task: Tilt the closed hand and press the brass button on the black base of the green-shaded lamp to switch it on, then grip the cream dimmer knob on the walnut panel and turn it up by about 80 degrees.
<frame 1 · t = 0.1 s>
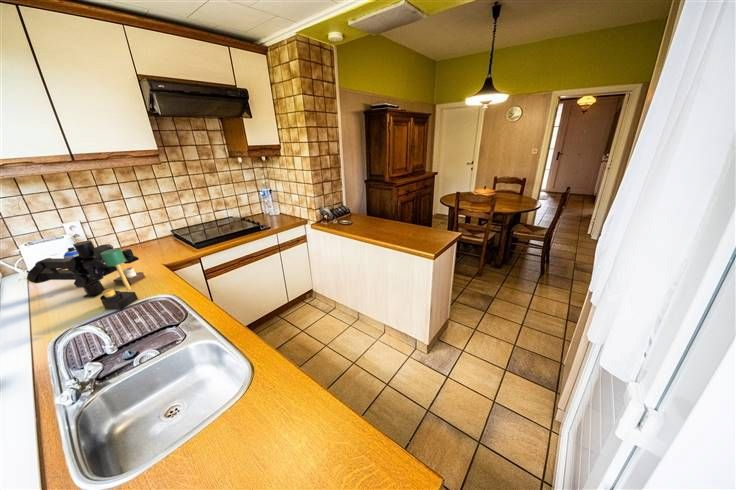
hand: (129, 263, 119), 16 cm above the worktop, tool horizontal, fingers open, 9 cm apart
dimmer panel: (130, 280, 138), on the worktop
lamp base: (122, 304, 118), on the worktop
lamp: (134, 300, 121), resting on lamp base
dimmer: (129, 272, 136), point 5 cm above the worktop, hinge at 0.0°
lamp button: (109, 293, 114), point 7 cm above the worktop, slide at 0.1 cm
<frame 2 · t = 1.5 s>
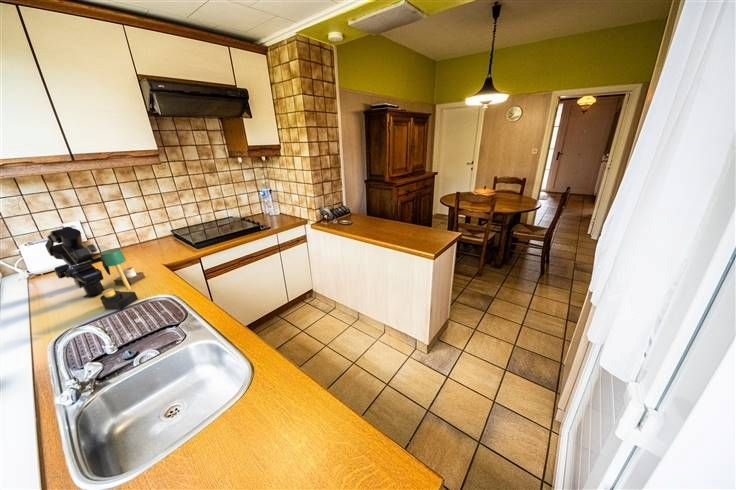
hand: (98, 278, 115), 13 cm above the worktop, tool tilted 45°, fingers open, 8 cm apart
nothing on the worktop moved.
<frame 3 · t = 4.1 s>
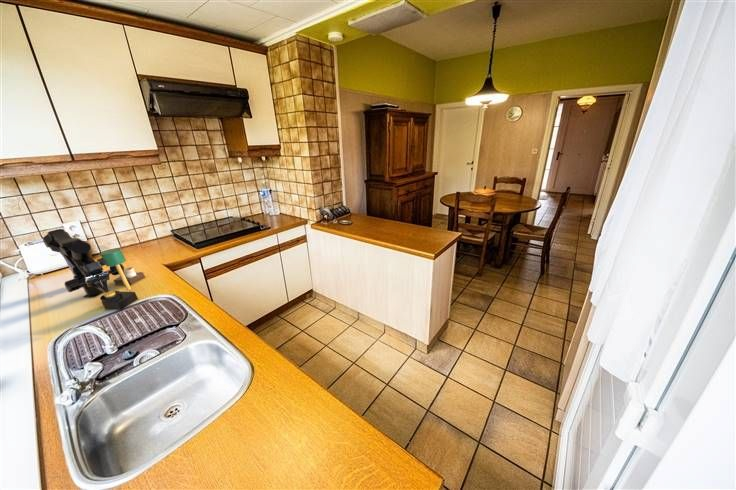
hand: (107, 292, 115), 7 cm above the worktop, tool tilted 45°, fingers closed, pressing on lamp button
lamp button: (110, 295, 115), point 6 cm above the worktop, slide at -1.2 cm, touching gripper
everything else where it was.
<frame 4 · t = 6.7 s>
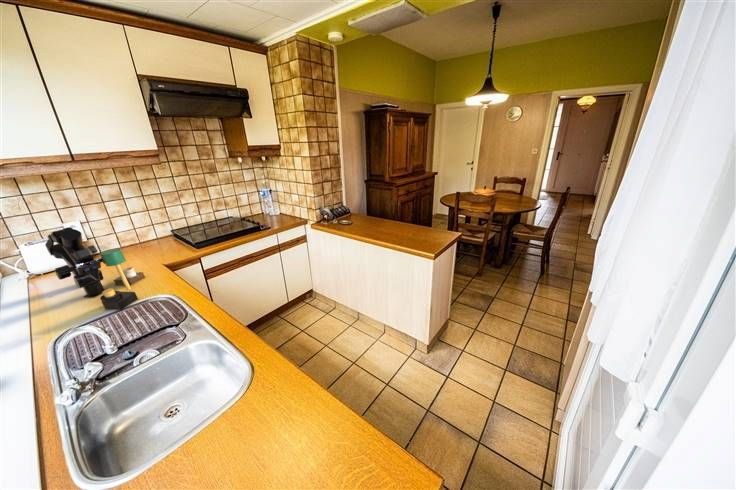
hand: (98, 279, 115), 12 cm above the worktop, tool tilted 45°, fingers closed
lamp button: (109, 293, 114), point 7 cm above the worktop, slide at 0.1 cm
everything else where it was.
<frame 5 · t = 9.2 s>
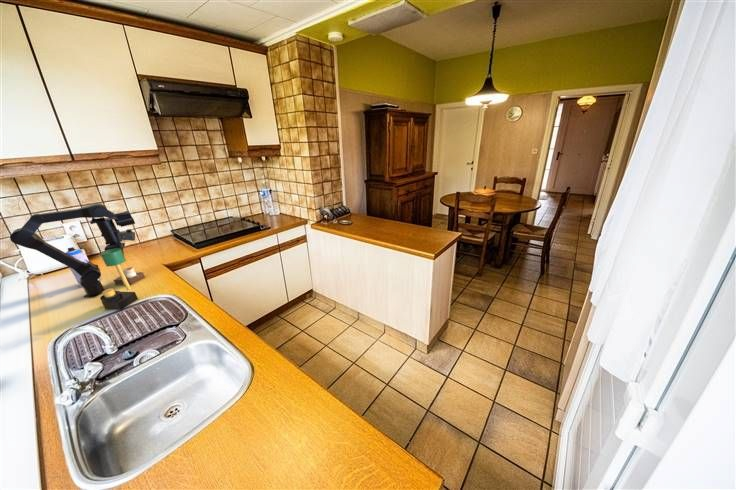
hand: (123, 258, 133), 13 cm above the worktop, tool pointing down, fingers closed
nothing on the worktop moved.
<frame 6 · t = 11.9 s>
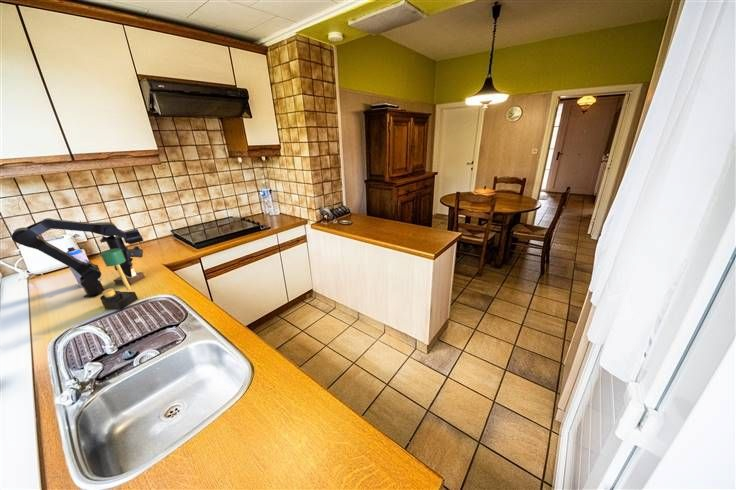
hand: (130, 275, 137), 4 cm above the worktop, tool pointing down, fingers closed on dimmer, 4 cm apart
dimmer: (129, 272, 136), point 5 cm above the worktop, hinge at 0.0°, touching gripper
everything else where it was.
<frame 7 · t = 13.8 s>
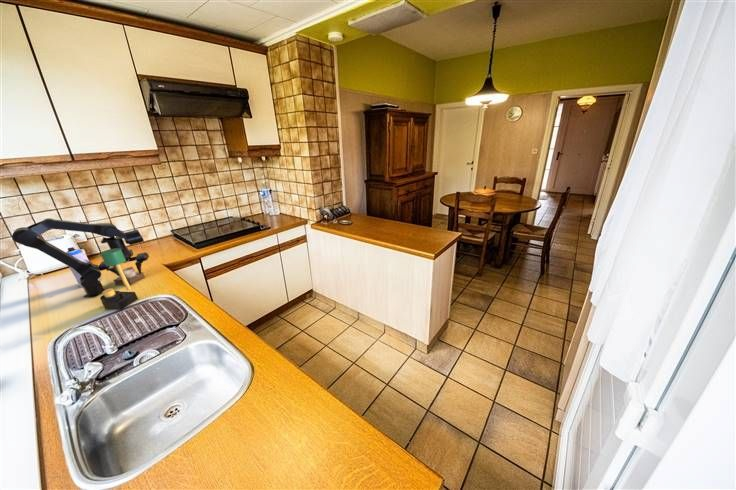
hand: (131, 275, 137), 3 cm above the worktop, tool pointing down, fingers open, 7 cm apart
dimmer: (129, 272, 136), point 5 cm above the worktop, hinge at 80.1°
everything else where it was.
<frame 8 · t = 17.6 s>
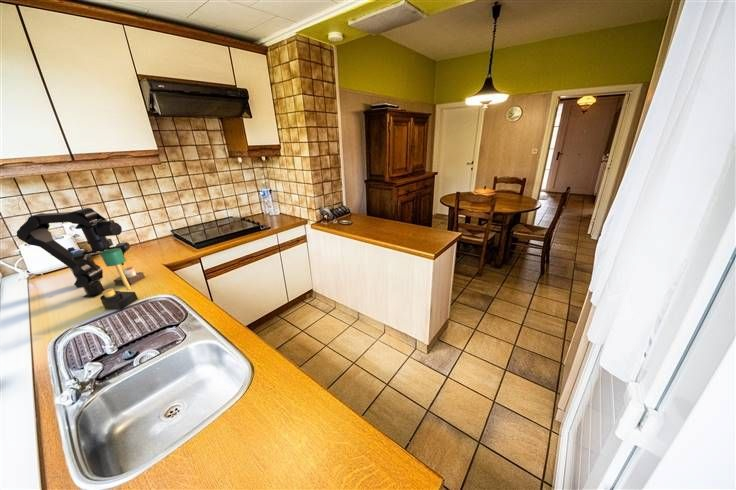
hand: (110, 267, 124), 13 cm above the worktop, tool pointing down, fingers open, 9 cm apart
nothing on the worktop moved.
at the end: lamp button pushed in 1.5 cm at the most during the clip, back to where it started at the end; lamp button slide at 0.1 cm; dimmer at +80° (first picture: +0°) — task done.
